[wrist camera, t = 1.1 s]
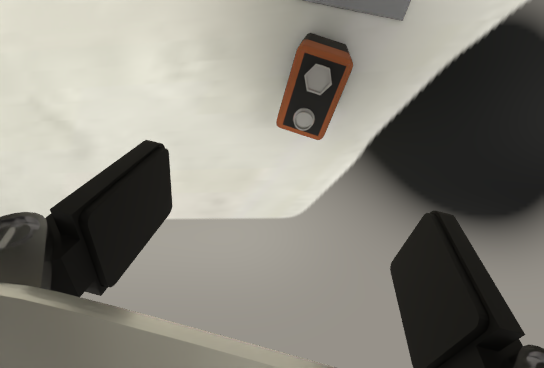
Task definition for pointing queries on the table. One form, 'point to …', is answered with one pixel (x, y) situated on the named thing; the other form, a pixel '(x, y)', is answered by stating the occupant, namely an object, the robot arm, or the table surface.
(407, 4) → the mat
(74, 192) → the robot arm
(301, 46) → the battery
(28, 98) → the table surface
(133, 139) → the table surface
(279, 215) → the table surface
